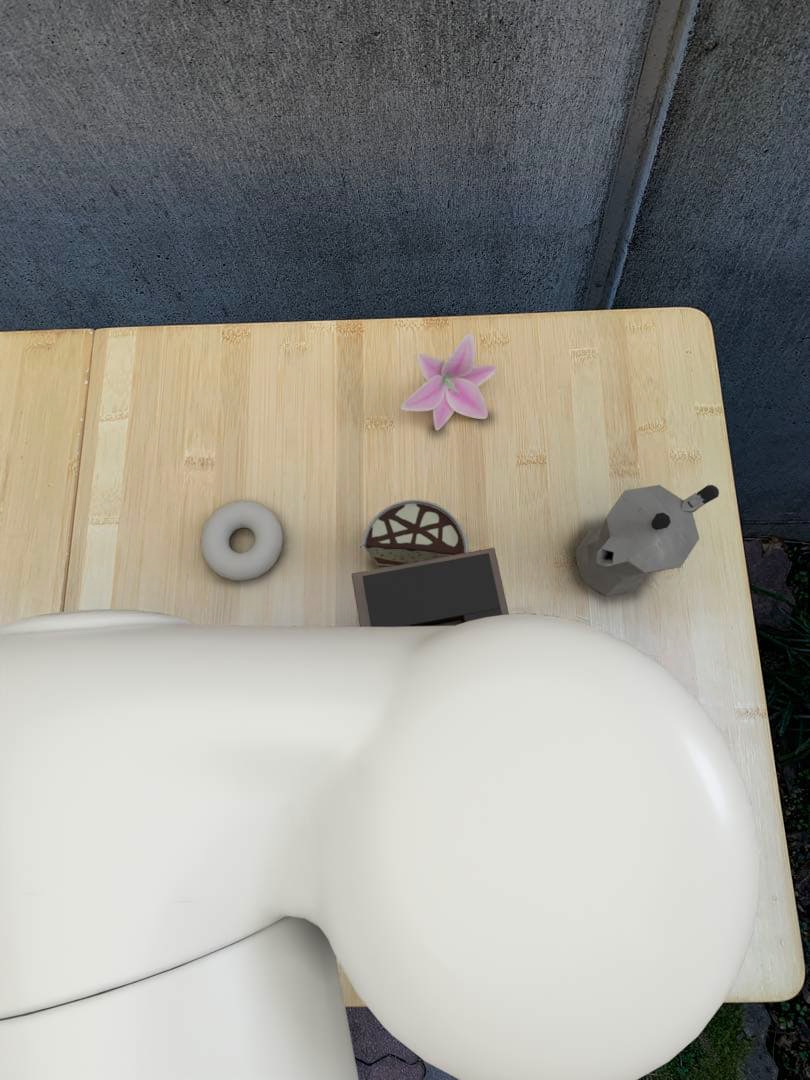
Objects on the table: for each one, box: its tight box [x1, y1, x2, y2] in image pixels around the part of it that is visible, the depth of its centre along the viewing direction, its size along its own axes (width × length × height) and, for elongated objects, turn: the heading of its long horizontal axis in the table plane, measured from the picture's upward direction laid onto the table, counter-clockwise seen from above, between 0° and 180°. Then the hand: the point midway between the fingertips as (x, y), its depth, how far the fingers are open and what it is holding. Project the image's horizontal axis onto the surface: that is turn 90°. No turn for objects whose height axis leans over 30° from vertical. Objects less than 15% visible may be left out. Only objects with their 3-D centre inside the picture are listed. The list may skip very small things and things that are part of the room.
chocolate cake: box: [359, 499, 471, 567], centre depth 79 cm, size 12×6×10 cm, turn 84°
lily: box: [399, 332, 499, 431], centre depth 85 cm, size 12×12×10 cm
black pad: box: [363, 553, 502, 627], centre depth 53 cm, size 10×8×3 cm
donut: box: [200, 500, 284, 581], centre depth 83 cm, size 10×4×10 cm
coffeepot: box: [574, 484, 720, 598], centre depth 75 cm, size 15×9×18 cm, turn 121°
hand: (447, 749), depth 38 cm, fingers open, 9 cm apart
